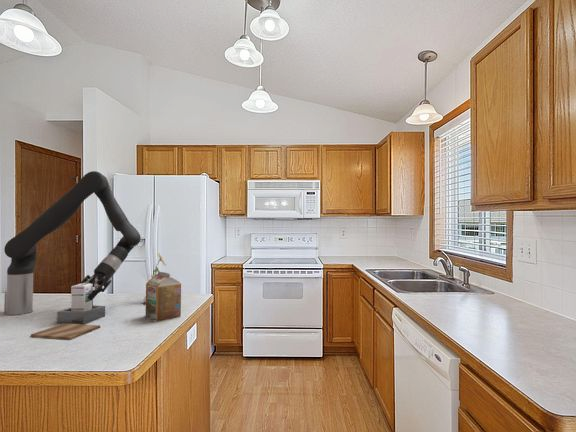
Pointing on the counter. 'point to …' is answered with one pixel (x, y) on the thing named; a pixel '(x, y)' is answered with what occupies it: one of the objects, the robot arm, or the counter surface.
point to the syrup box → (81, 297)
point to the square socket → (80, 315)
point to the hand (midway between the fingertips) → (82, 298)
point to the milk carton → (163, 297)
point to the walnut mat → (65, 331)
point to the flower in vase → (156, 270)
